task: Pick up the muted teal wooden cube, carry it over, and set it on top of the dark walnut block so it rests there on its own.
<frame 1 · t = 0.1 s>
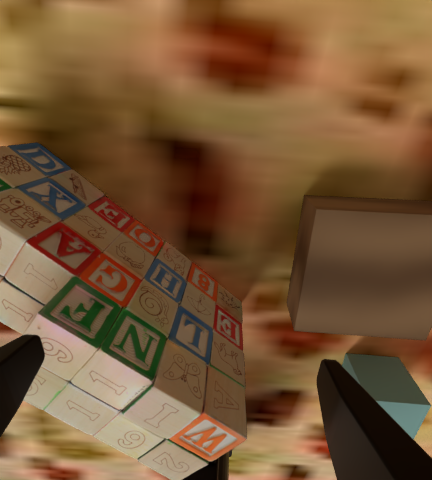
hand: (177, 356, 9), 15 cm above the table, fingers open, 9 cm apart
teal cube: (365, 373, 28), on the table
stack of blocks: (132, 252, 24), on the table
walnut block: (354, 255, 23), on the table
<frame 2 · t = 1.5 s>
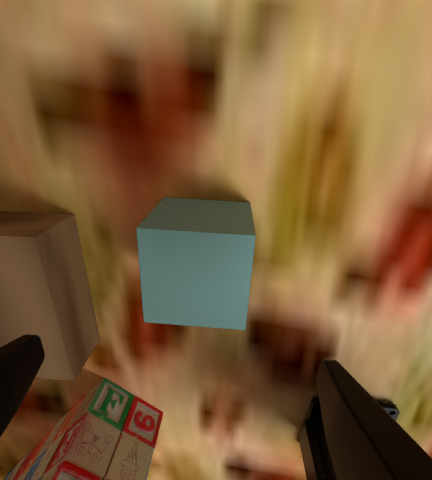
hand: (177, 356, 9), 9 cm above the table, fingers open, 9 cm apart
teal cube: (205, 238, 17), on the table
stack of blocks: (78, 443, 27), on the table
walnut block: (22, 277, 20), on the table
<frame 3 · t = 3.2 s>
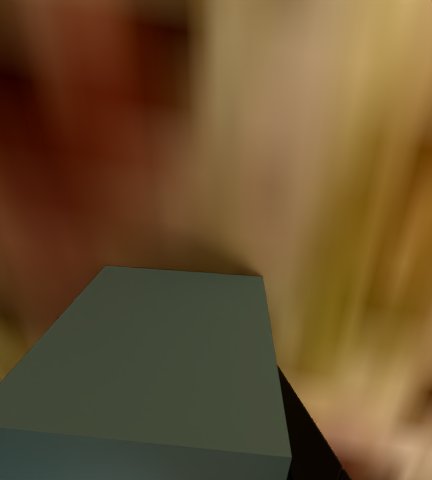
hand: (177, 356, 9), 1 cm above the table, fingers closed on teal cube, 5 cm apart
teal cube: (183, 332, 10), on the table, touching gripper
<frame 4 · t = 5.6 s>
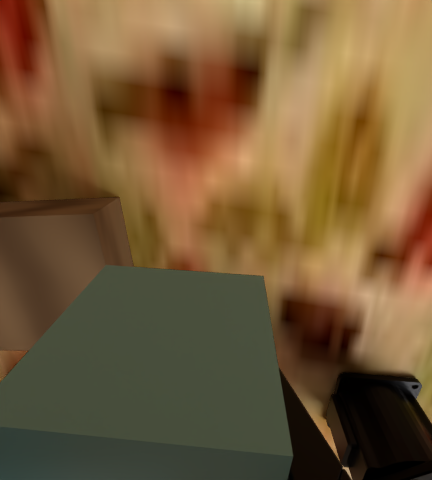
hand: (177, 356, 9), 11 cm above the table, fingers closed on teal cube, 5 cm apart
teal cube: (184, 332, 10), point 10 cm above the table, touching gripper
walnut block: (71, 262, 21), on the table
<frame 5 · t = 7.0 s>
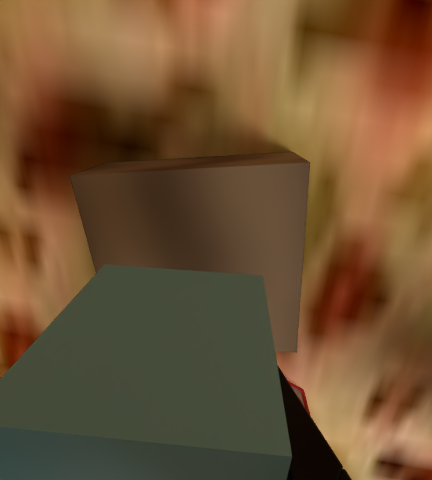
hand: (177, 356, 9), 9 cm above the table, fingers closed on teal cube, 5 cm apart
teal cube: (183, 331, 10), point 8 cm above the table, touching gripper
walnut block: (204, 240, 17), on the table
when the fingers open (6 cm above the table, at t = 8.2 s): teal cube drops 2 cm, point 4 cm above the table.
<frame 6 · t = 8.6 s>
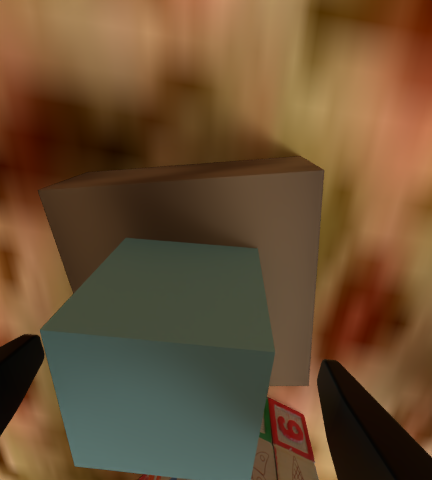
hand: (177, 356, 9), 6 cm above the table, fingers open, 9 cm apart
teal cube: (189, 298, 11), point 4 cm above the table
stack of blocks: (193, 463, 23), on the table
walnut block: (202, 256, 15), on the table
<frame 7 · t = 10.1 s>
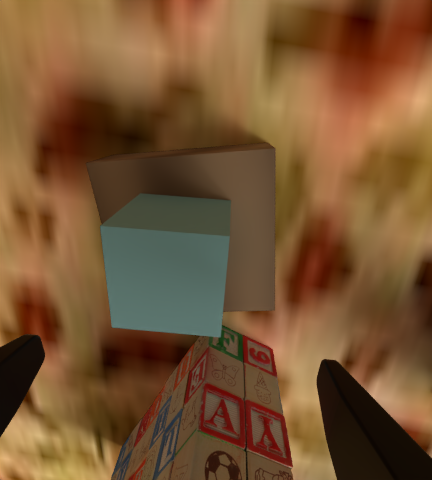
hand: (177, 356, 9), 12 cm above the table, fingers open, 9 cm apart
teal cube: (184, 238, 16), point 4 cm above the table
stack of blocks: (188, 400, 28), on the table
walnut block: (197, 220, 20), on the table
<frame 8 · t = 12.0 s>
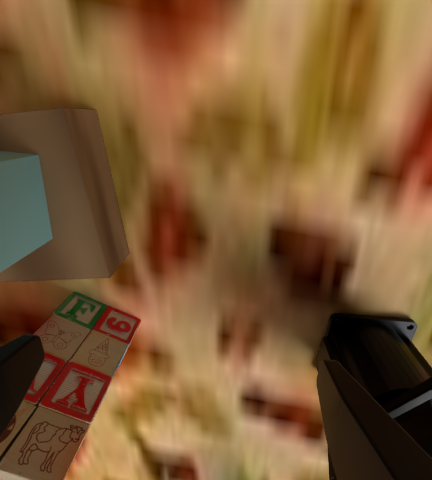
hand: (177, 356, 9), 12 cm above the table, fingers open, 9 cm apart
teal cube: (4, 194, 16), point 4 cm above the table, touching walnut block
stack of blocks: (78, 378, 28), on the table
walnut block: (51, 192, 20), on the table, touching teal cube
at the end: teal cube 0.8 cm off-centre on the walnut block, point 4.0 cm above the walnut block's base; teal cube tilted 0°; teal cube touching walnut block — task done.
